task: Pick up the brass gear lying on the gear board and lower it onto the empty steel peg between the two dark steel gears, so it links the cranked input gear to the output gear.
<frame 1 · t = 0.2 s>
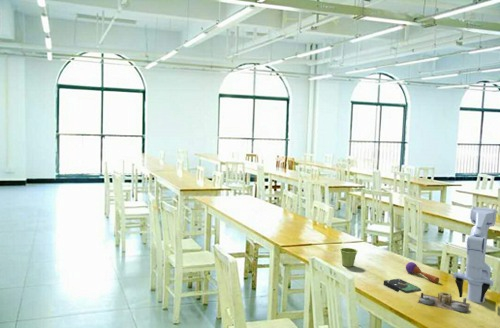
hand: (471, 299, 188), 10 cm above the table, tool pointing down, fingers open, 7 cm apart
plant pot: (347, 265, 259), on the table
gear board: (443, 305, 206), on the table
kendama: (421, 277, 245), on the table
brass gear: (444, 300, 208), point 1 cm above the table, touching gear board
disk drive: (401, 290, 225), on the table
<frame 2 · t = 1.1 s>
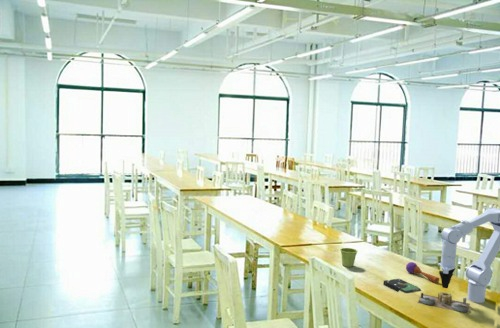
hand: (446, 285, 208), 8 cm above the table, tool pointing down, fingers open, 7 cm apart
nothing on the table moved.
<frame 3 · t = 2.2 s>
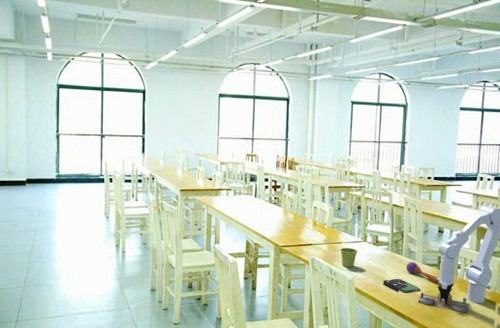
hand: (444, 300, 208), 2 cm above the table, tool pointing down, fingers closed on brass gear, 6 cm apart
brass gear: (444, 300, 208), point 1 cm above the table, touching gear board, gripper
everything else where it was.
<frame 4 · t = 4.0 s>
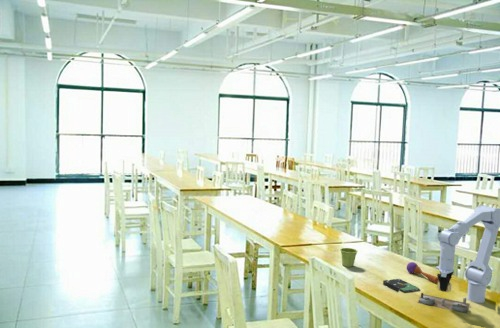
hand: (444, 288, 203), 8 cm above the table, tool pointing down, fingers closed on brass gear, 6 cm apart
brass gear: (443, 289, 203), point 8 cm above the table, touching gripper
everything else where it was.
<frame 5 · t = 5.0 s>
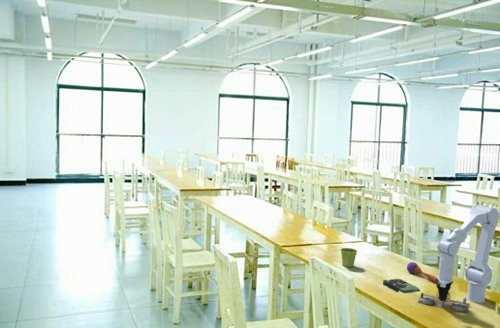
hand: (443, 298, 203), 4 cm above the table, tool pointing down, fingers closed on brass gear, 6 cm apart
brass gear: (443, 299, 203), point 4 cm above the table, touching gripper
everything else where it was.
when the fingers open (3 cm above the table, at t = 5.9 s): brass gear drops 1 cm, resting on gear board.
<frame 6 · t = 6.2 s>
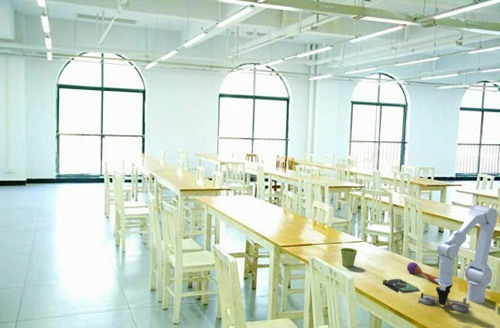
hand: (443, 301, 203), 3 cm above the table, tool pointing down, fingers open, 7 cm apart
brass gear: (442, 305, 203), point 1 cm above the table, touching gear board
everything else where it was.
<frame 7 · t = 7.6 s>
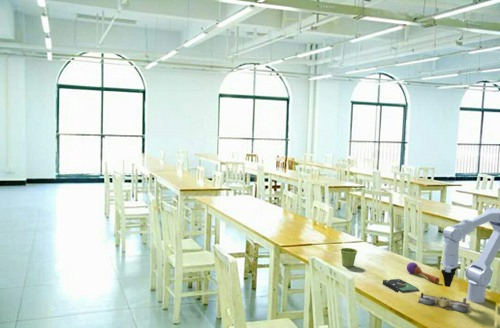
hand: (448, 284, 207), 9 cm above the table, tool pointing down, fingers open, 7 cm apart
nothing on the table moved.
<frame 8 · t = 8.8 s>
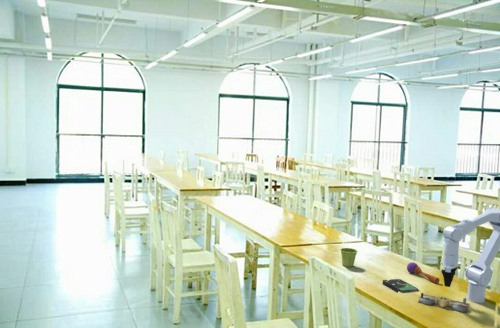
hand: (448, 284, 207), 9 cm above the table, tool pointing down, fingers open, 7 cm apart
nothing on the table moved.
at the end: brass gear 0.1 cm from the target spot on the gear board, point 1.2 cm above the gear board's base; brass gear tilted 0°; the gripper is holding nothing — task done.
